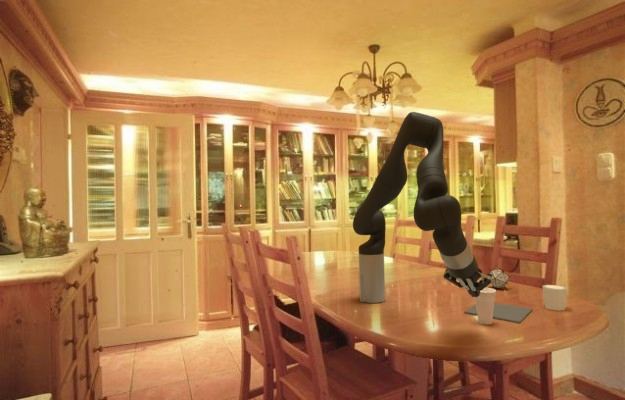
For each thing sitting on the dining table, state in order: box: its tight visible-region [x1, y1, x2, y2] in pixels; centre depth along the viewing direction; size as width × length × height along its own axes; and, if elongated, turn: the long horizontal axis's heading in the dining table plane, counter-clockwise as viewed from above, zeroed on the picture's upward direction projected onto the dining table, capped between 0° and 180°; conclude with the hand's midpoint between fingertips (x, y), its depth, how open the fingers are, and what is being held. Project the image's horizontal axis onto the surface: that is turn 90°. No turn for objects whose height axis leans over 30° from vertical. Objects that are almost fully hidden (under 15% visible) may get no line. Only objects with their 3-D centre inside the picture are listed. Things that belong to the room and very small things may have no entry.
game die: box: [489, 267, 512, 291], centre depth 148 cm, size 9×8×10 cm
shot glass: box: [542, 284, 568, 312], centre depth 121 cm, size 7×7×7 cm
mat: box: [463, 302, 533, 324], centre depth 118 cm, size 16×16×1 cm
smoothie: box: [474, 286, 497, 325], centre depth 109 cm, size 6×6×14 cm
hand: (475, 294), depth 103 cm, fingers closed
